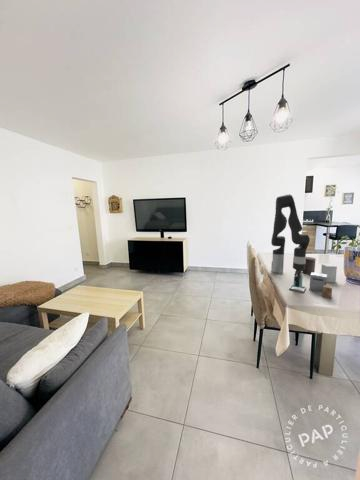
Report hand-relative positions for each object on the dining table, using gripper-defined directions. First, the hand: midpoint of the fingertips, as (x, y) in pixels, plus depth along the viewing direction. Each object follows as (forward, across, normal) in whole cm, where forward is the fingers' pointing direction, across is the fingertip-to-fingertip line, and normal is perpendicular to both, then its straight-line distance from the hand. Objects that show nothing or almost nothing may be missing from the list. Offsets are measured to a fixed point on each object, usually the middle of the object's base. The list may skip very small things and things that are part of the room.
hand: (297, 285), depth 138 cm
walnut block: (+3, -2, -17) cm, 17 cm away
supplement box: (+3, +33, -15) cm, 36 cm away
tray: (+3, 0, 0) cm, 3 cm away
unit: (+3, +8, -11) cm, 14 cm away
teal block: (+1, 0, 0) cm, 1 cm away
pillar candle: (+3, +45, 0) cm, 45 cm away
